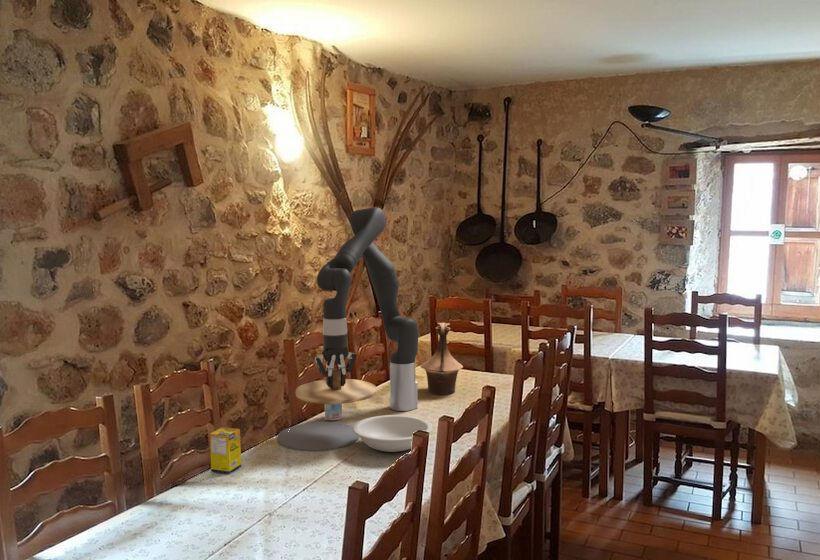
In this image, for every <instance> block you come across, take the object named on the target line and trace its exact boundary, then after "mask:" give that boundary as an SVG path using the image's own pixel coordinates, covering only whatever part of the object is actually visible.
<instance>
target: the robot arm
mask: <svg viewBox="0 0 820 560" xmlns="http://www.w3.org/2000/svg"><path fill="white" fill-rule="evenodd" d="M349 220H350V226H351V230H352V232H353V236H352V237H351V238H349V239H348V240H347V241H346V242H345V243H343V244H342V245H341V247H340V248H339V250H338V251H337V253H336V255H335V256H334V257H333V258H332V259H330V260H329V261H327V263H326V264H324V265H323V266H322V267H321V268H320V269H319V271H318V273H317V275H316V284H317V286H318V288H319V289H320V290H322V291H328V292H335V296H334V297H331V298H326V299H324V301H323V304H322V308H323V312H322V313H323V314H322V315H323V319H322V320H323V321H322V348H323V349H322V352H321V354H319V355H318V356H316V355H315V356H314V358H313V360H314V362H315V365H316V366H317V369H318V372H319V374H321V375H323V376H325V380H326V384H327V386H328V387H329V388H332V387H333V385H332V376H331V375H332V370H333V369H334V368H335V366H336V365H337V367H338V369H341V387H342V386H344V384H345V383H346V379H347V378H346V375H347V373H351V372H352V369H353V367H354V364H355V362H356V358H357V356H358V355H357V354H356V353H354V352H350V351H349V349H348V329H349V328H348V322H347V302H348V298H349V293H350V289H351V286H352V276H351V272H353V271H354V269H355V267H356V266H357V264H358V262H359V261H360V259H361V257H362V256H363V257H362V258H363V260H364V261H365V266H366V268H367V271H368V275H369V277H370V278H369V279H370V280H371V284H372V286H373V291H374V292H375V295H376V298H377V302H378V305H379V308H380V313H381V318H382V323H383V328H384V332H385V334H386V337H387V338H388V339H389V340H390V341H391V342H395V343H397V350H396V351H393V352H391V353H390V355H389V356H390V358H389V386H390V387H389V396H390V397H389V398H390V399H389V404H390V405H389V406H390V407H389V408H390V409H391V410H393V411H397V412H408V411H412V410H415V409H418V407H419V405H418V404H419V403H418V398H419V397H418V396H419V395H418V392H419V391H418V389H419V388H418V387H419V386H418V382H417V381H416V357H417V354H418V348H419V346H418V345H419V327H418V324H417V322H416V321H415V320H414V319H411V318H408V317H407V318H406V317H403V316H402V314H401V312H400V311H399V307H398V300H397V299H398V293H399V289H400V288H399V286H400V283H399V278H398V275H397V274H398V273H397V272H396V268H395V266H394V264H393V263H392V261H391V260H390V259H389V258H388V257H387V256H386V255H385V254H384V253H382V252H381V250H380V249H379V248H378V247H377V246H376V244H375V243H374V241H375V240H376V239H377V238H378V237H379V236H380V235H381V234H382V232H383V231H384V230H385V228H386V224H387V219H386V215H385V212H384V210H383V209H381V208H380V207H378V206H373V207H366V208H361V209H357V210H353V211H352V212H351V214H350V218H349ZM346 359H348V360H347V362H346V364H345V360H346ZM324 361H325V362H326V364H325V367H324V365H323V362H324Z"/></svg>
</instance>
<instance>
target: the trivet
mask: <svg viewBox="0 0 820 560" xmlns="http://www.w3.org/2000/svg"><path fill="white" fill-rule="evenodd" d="M289 429H290V430H289ZM288 431H289V432H288ZM277 436H278V437H276V439H277V443H278V444H279V443H280V445H281V446H282V447H285V448H288V449H291V450H295V451H302V452H303V451H304V452H322V451H323V452H324V451H331V450H332V451H333V450H338V449H342V448H345V447H347V446H350V445H353V444H354V443H356V442H357V441H359V439H360V436H359V435H357V434H356V433H354V431H353V426H352V425H349V424H346V423H341V422H333V421H332V422H330V421H328V422H327V421H324V422H322V421H318V422H315V421H314V422H308V423H307V422H306V423H301V424H297V425H293V426H290V427H288V428H285V429H283V430H281V431H280V432H279V433H278V434H277Z"/></svg>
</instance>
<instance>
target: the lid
mask: <svg viewBox="0 0 820 560" xmlns="http://www.w3.org/2000/svg"><path fill="white" fill-rule="evenodd" d="M331 376H332V385H333V387H332V388H329V387H328V386H327V384H326V379H319V380H314V381H309V382H306V383H303V384H300V385H299V386H298V387H297V388H295V397H296V398H297V399H299V400H301V401H303V402H307V403H312V404H322V405H325V404H342V405H343V404H351V403H358V402H361V401H365V400H368V399H370V398H372V397H373V396H375V395H376V393H377V387H376V385H375V384H374V383H371V382H369V381H366V380H361V379H354V378H353V379H351V378H346V383H345V384H344V386H342V387H341V369H339V368H333V370H332V375H331Z"/></svg>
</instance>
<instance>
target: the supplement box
mask: <svg viewBox="0 0 820 560" xmlns="http://www.w3.org/2000/svg"><path fill="white" fill-rule="evenodd" d="M209 446H210V447H209V449H210V470H211V471H213V473H221V474H227V475H230V474H231V473H234V472H235V471H237V470H238V469H240V468H242V452H241V450H242V448H241V428H240V429H239V428H232V427H231V428H230V427H224V426H223V427H219V428H217V429H216V430H214V431H212V432H210V433H209ZM211 471H210V472H211Z"/></svg>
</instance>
